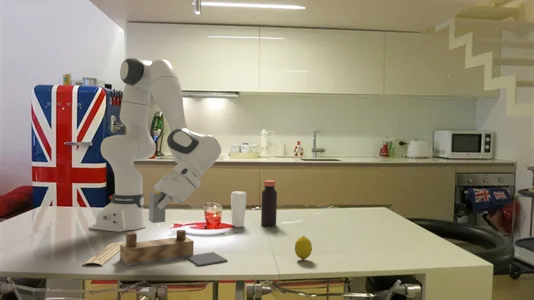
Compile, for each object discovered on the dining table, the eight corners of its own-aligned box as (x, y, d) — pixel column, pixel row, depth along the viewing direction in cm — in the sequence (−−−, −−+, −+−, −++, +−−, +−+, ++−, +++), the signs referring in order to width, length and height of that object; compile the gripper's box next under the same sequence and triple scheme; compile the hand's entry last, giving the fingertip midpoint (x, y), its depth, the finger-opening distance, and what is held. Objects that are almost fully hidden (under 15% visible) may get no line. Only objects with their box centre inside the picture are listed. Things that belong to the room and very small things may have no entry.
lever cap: (152, 222, 135) (153, 192, 134) (148, 220, 138) (149, 190, 137) (165, 221, 137) (165, 191, 136) (160, 219, 140) (161, 190, 140)
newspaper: (102, 268, 128) (102, 262, 128) (78, 268, 128) (78, 262, 128) (126, 247, 151) (126, 242, 151) (106, 246, 151) (107, 242, 151)
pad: (198, 266, 130) (198, 264, 130) (185, 258, 138) (185, 256, 138) (227, 261, 135) (227, 259, 135) (213, 253, 144) (213, 252, 144)
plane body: (126, 266, 129) (126, 236, 128) (119, 259, 135) (120, 231, 134) (193, 256, 141) (194, 229, 140) (184, 250, 147) (185, 224, 146)
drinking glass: (233, 228, 182) (234, 193, 181) (227, 225, 188) (228, 191, 187) (248, 227, 185) (249, 193, 184) (241, 224, 191) (242, 191, 190)
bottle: (267, 227, 185) (269, 182, 184) (257, 224, 190) (259, 180, 189) (279, 225, 189) (280, 181, 189) (269, 223, 195) (270, 179, 194)
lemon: (293, 257, 142) (294, 234, 141) (309, 257, 142) (310, 234, 142) (295, 262, 136) (296, 238, 136) (312, 262, 137) (313, 238, 136)
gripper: (167, 165, 149) (139, 194, 144) (190, 172, 132) (159, 205, 127) (179, 178, 152) (151, 206, 147) (203, 185, 135) (173, 218, 130)
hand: (155, 206), depth 137 cm, fingers closed on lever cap, 4 cm apart
